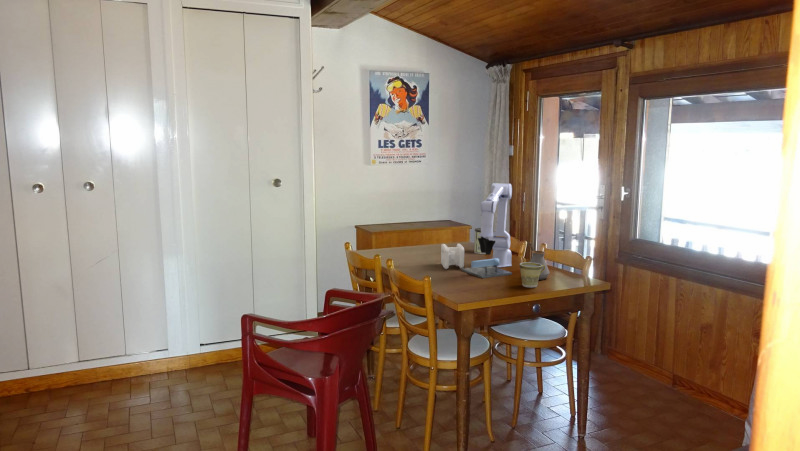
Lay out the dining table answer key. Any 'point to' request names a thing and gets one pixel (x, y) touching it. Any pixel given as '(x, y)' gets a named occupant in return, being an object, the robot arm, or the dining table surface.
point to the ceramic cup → (530, 273)
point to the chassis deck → (487, 275)
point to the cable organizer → (452, 256)
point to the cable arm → (485, 263)
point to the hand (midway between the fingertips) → (485, 253)
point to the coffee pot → (539, 261)
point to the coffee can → (477, 242)
